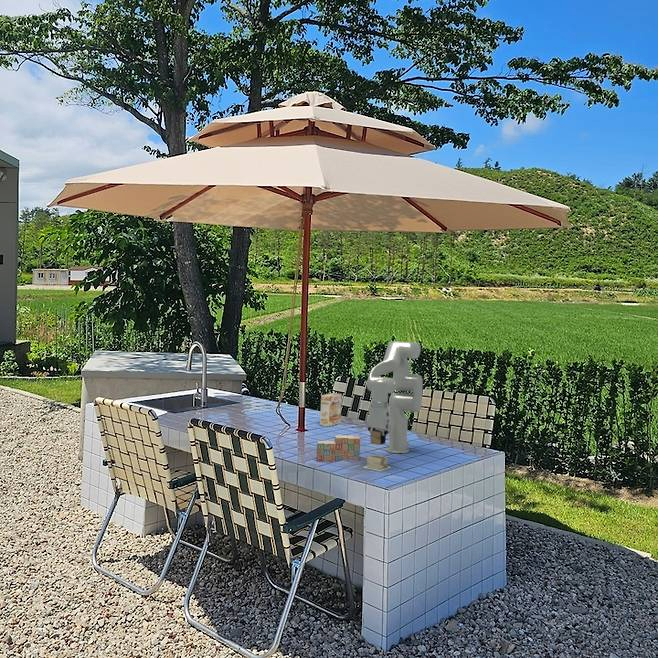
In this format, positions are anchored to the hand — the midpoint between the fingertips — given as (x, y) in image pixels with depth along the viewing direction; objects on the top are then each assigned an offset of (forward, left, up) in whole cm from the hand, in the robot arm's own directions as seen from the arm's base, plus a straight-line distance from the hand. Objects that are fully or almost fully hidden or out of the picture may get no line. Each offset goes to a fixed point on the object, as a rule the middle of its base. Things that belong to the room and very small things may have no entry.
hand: (377, 442), depth 332 cm
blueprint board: (0, 0, -14) cm, 14 cm away
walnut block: (0, 0, -1) cm, 1 cm away
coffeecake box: (-73, -82, -14) cm, 111 cm away
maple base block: (0, 0, -12) cm, 12 cm away
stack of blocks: (-2, -25, -14) cm, 28 cm away
